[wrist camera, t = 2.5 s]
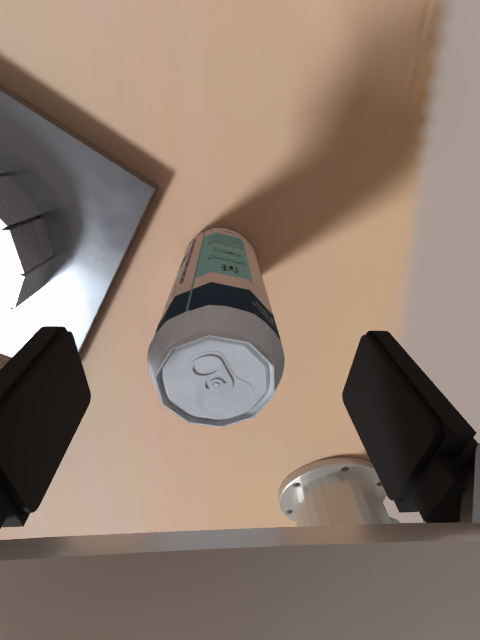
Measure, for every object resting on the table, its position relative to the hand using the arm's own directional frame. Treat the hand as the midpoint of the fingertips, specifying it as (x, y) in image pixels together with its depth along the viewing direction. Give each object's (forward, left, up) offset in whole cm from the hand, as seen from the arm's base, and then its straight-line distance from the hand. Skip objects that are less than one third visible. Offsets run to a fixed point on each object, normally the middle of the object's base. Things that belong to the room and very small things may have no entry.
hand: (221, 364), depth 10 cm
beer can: (0, 0, -12) cm, 12 cm away
